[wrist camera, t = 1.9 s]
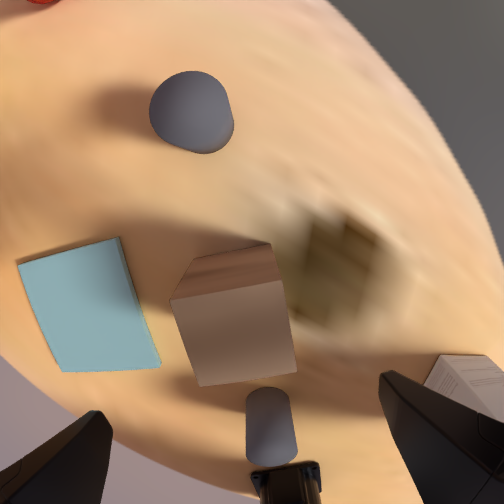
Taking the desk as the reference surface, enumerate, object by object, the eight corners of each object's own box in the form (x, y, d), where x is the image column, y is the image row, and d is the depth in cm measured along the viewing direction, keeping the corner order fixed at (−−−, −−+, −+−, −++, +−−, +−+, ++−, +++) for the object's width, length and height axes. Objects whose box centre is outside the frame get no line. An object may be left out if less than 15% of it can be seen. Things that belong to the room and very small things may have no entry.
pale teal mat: (161, 362, 19) (159, 367, 19) (65, 368, 20) (62, 372, 19) (118, 236, 17) (114, 239, 16) (22, 263, 17) (17, 265, 17)
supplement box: (400, 418, 22) (454, 525, 9) (439, 351, 20) (527, 455, 7) (452, 414, 22) (507, 497, 10) (488, 354, 20) (565, 431, 8)
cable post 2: (291, 412, 21) (299, 462, 16) (250, 419, 21) (251, 469, 16) (285, 383, 20) (294, 434, 15) (241, 391, 20) (240, 442, 15)
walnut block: (283, 313, 18) (297, 371, 13) (212, 326, 19) (199, 386, 13) (270, 243, 17) (282, 279, 11) (193, 258, 17) (169, 300, 12)
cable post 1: (239, 146, 16) (236, 135, 11) (182, 159, 16) (156, 155, 11) (228, 93, 15) (220, 63, 10) (172, 106, 15) (144, 83, 10)
